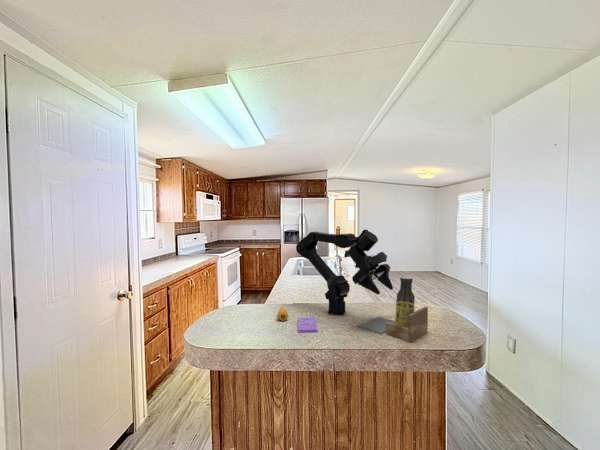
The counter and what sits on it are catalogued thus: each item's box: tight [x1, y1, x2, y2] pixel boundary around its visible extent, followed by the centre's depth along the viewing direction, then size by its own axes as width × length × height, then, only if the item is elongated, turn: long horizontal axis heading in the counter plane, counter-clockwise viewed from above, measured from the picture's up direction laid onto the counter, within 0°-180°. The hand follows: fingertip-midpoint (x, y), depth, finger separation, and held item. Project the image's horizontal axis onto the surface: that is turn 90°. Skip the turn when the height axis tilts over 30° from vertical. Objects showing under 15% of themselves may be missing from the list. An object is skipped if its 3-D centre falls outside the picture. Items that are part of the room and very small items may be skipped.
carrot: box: [277, 306, 289, 322], centre depth 129 cm, size 20×4×4 cm, turn 5°
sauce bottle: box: [394, 275, 416, 328], centre depth 107 cm, size 6×6×20 cm
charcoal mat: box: [357, 316, 395, 335], centre depth 115 cm, size 10×14×1 cm
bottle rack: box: [385, 306, 429, 343], centre depth 107 cm, size 10×12×9 cm
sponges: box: [297, 316, 319, 334], centre depth 115 cm, size 7×13×2 cm, turn 1°
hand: (385, 291), depth 112 cm, fingers open, 9 cm apart
